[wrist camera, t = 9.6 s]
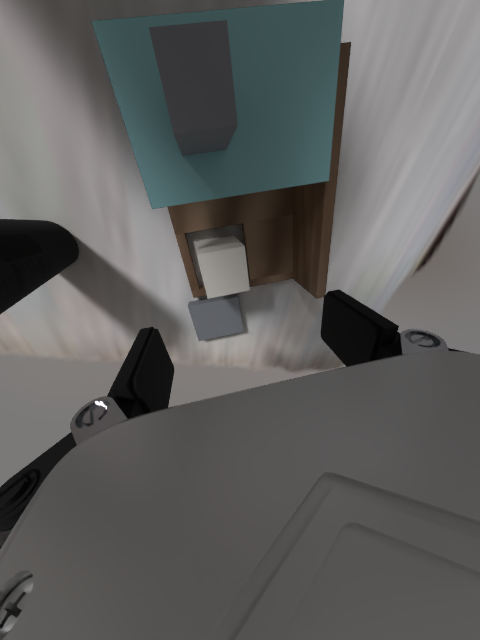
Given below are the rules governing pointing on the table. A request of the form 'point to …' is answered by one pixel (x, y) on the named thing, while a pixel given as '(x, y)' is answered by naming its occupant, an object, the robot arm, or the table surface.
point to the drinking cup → (31, 256)
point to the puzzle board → (276, 220)
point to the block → (223, 266)
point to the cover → (227, 97)
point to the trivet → (216, 316)
